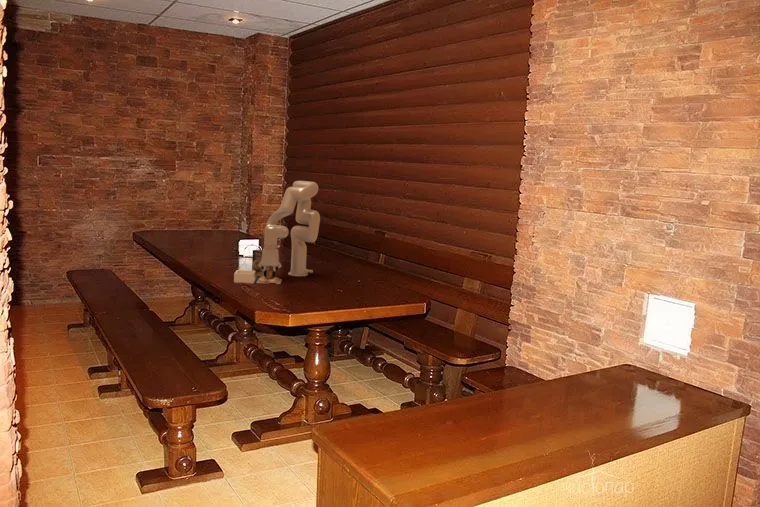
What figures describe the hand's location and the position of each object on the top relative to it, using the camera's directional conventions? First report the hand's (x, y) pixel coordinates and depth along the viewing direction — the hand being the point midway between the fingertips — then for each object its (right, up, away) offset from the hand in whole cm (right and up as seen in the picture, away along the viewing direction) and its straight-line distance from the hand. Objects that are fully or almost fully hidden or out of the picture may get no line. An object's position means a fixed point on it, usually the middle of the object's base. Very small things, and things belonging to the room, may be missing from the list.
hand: (269, 277), depth 375 cm
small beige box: (-14, -3, -5) cm, 15 cm away
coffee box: (-9, 0, +17) cm, 19 cm away
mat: (0, -3, 0) cm, 3 cm away
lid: (0, -2, 0) cm, 2 cm away
